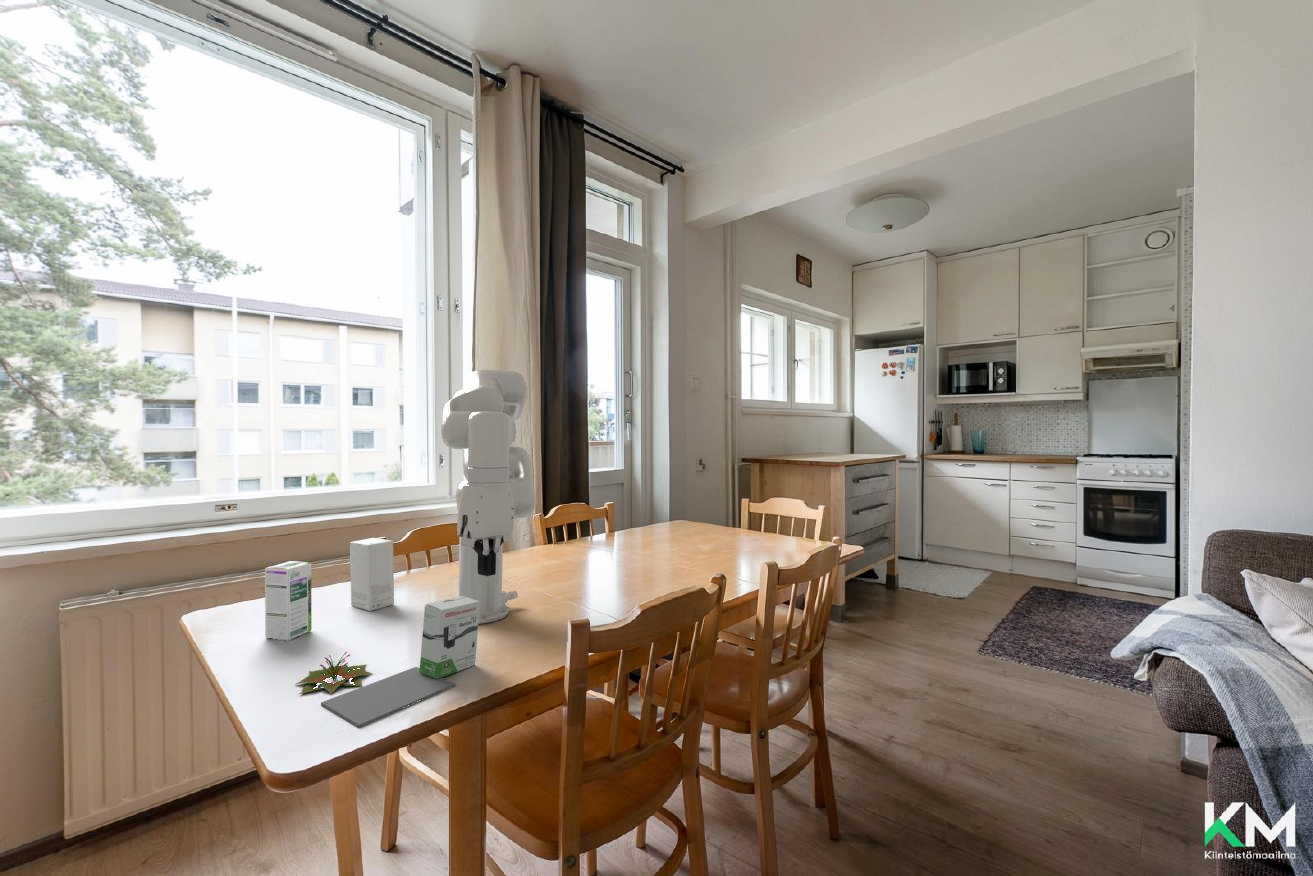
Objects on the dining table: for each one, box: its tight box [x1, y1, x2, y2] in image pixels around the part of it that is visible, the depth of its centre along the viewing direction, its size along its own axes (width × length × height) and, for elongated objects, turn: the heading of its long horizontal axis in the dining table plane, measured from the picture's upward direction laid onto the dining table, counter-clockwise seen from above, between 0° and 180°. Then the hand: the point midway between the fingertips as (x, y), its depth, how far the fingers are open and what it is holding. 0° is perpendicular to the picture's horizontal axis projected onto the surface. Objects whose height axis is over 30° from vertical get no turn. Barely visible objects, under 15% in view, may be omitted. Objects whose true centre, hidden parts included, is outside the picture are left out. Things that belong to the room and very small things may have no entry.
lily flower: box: [295, 651, 373, 695], centre depth 93 cm, size 12×12×5 cm
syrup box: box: [264, 560, 312, 642], centre depth 113 cm, size 6×6×14 cm
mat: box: [320, 666, 456, 728], centre depth 89 cm, size 16×11×1 cm
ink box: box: [419, 595, 480, 679], centre depth 98 cm, size 9×5×12 cm, turn 148°
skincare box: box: [349, 537, 395, 612], centre depth 132 cm, size 8×7×16 cm
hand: (486, 574), depth 104 cm, fingers closed
